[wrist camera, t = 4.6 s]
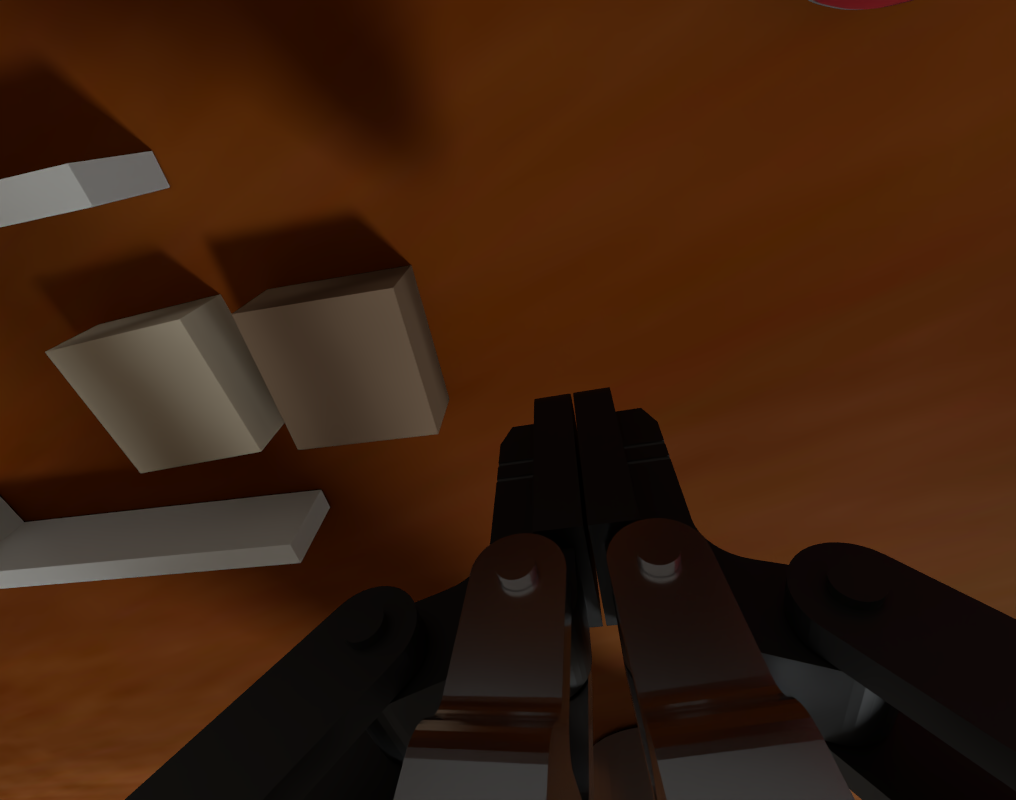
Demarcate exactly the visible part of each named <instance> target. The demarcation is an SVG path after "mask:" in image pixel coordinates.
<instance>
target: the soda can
mask: <svg viewBox="0 0 1016 800" xmlns="http://www.w3.org/2000/svg"><path fill="white" fill-rule="evenodd" d="M809 1H811V2H813V3H816V4H819V5H823V6H827V7H832V8H837V9H846V10H857V9H873V8H881V7H887V6H892V5H896V4H900V3H904V2H909V1H912V0H809Z"/></svg>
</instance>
